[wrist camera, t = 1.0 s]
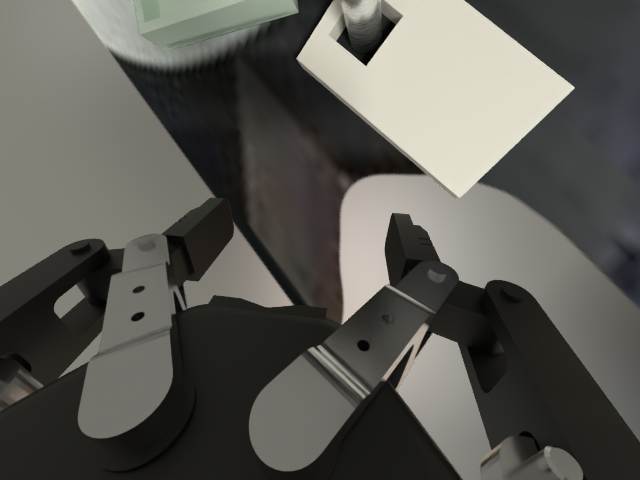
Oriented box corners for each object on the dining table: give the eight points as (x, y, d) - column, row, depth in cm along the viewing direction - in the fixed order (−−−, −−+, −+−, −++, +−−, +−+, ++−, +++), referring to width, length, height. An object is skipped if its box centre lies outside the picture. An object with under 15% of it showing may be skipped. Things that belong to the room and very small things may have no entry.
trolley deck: (302, 67, 27) (296, 58, 26) (377, -48, 24) (376, -69, 22) (454, 197, 26) (459, 198, 24) (558, 96, 22) (575, 87, 20)
